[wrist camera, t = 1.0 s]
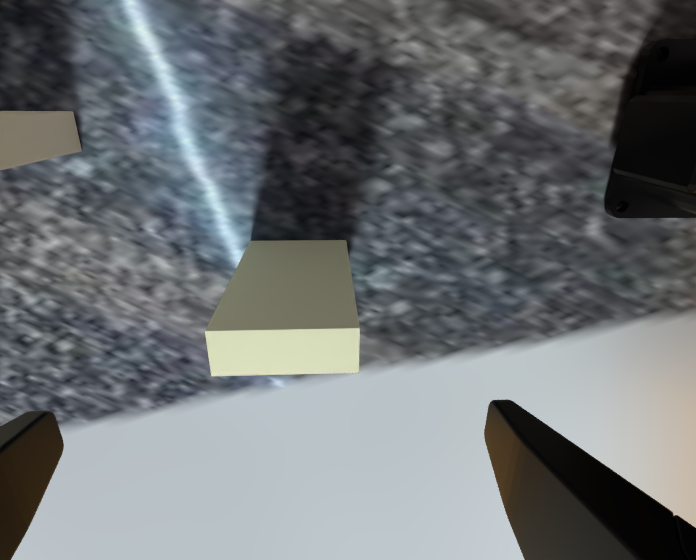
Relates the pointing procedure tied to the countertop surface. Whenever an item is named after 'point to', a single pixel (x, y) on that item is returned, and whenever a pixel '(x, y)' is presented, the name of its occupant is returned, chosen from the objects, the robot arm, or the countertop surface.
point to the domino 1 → (36, 136)
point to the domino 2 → (287, 312)
